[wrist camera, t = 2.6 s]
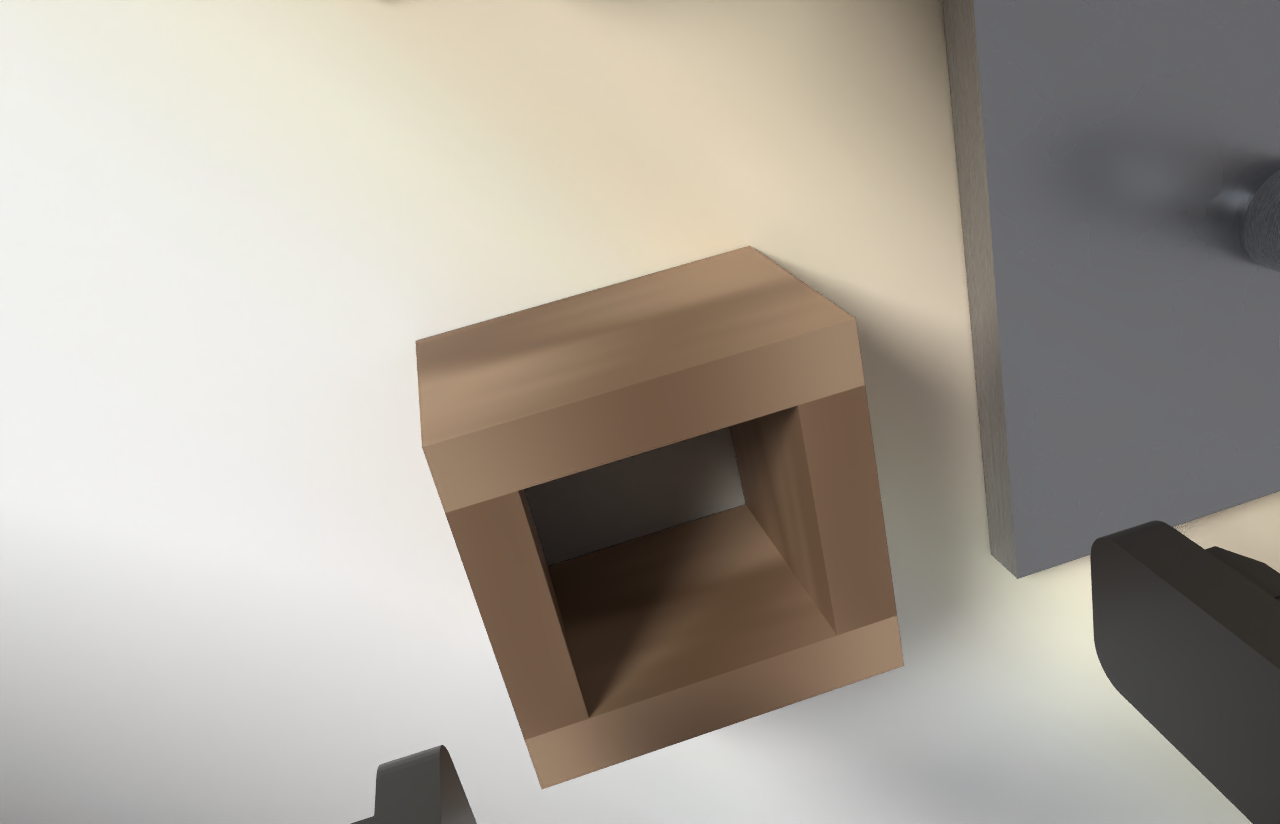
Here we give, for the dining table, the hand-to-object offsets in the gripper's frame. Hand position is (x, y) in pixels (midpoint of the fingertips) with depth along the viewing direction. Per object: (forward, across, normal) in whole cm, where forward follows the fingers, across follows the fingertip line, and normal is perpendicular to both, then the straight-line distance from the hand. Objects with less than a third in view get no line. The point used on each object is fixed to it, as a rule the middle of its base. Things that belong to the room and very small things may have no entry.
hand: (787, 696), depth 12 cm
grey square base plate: (+8, -12, -1) cm, 15 cm away
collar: (+8, 0, 0) cm, 8 cm away
